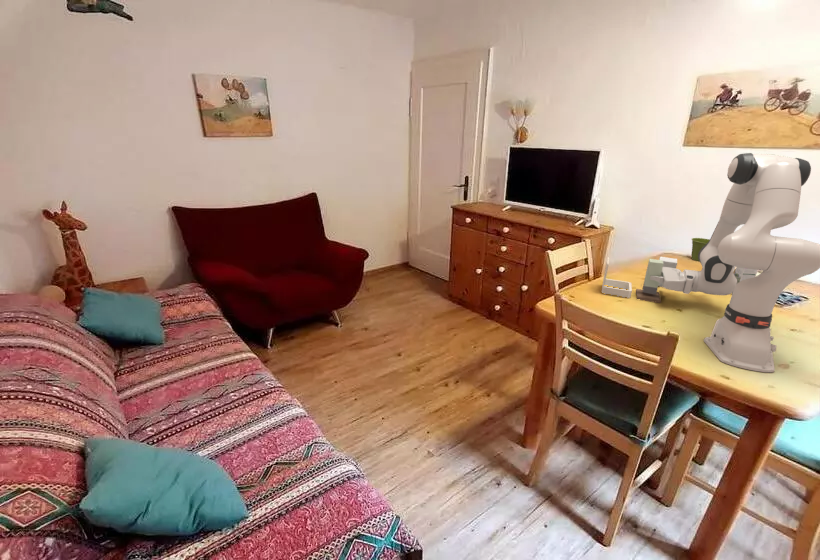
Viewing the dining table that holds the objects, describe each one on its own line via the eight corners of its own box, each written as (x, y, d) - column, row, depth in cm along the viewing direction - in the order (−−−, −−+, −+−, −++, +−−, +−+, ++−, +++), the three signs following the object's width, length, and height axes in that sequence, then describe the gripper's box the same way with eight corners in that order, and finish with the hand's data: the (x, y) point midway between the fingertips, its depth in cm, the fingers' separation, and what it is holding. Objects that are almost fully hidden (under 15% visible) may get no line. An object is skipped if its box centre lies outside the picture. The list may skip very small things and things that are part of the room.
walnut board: (660, 303, 173) (661, 301, 173) (636, 299, 177) (637, 297, 177) (658, 294, 183) (659, 292, 182) (635, 290, 186) (636, 288, 186)
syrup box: (749, 297, 180) (760, 266, 175) (734, 296, 181) (744, 265, 176) (742, 292, 186) (752, 262, 180) (727, 291, 187) (737, 261, 181)
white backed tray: (630, 298, 178) (637, 268, 173) (601, 293, 182) (607, 264, 177) (629, 289, 188) (636, 260, 183) (602, 285, 192) (607, 256, 187)
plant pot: (712, 264, 223) (718, 244, 219) (686, 260, 228) (692, 241, 224) (710, 258, 232) (716, 239, 228) (686, 255, 238) (691, 236, 234)
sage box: (656, 294, 176) (663, 263, 171) (642, 292, 178) (649, 261, 173) (655, 290, 180) (662, 260, 175) (642, 288, 182) (649, 258, 177)
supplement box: (671, 283, 195) (678, 258, 190) (671, 288, 189) (677, 262, 185) (653, 280, 199) (659, 256, 194) (652, 285, 193) (658, 260, 188)
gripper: (685, 265, 179) (650, 261, 184) (692, 280, 162) (652, 275, 167) (682, 279, 181) (647, 274, 187) (688, 295, 164) (649, 289, 169)
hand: (649, 274), depth 177 cm, fingers closed on sage box, 5 cm apart
